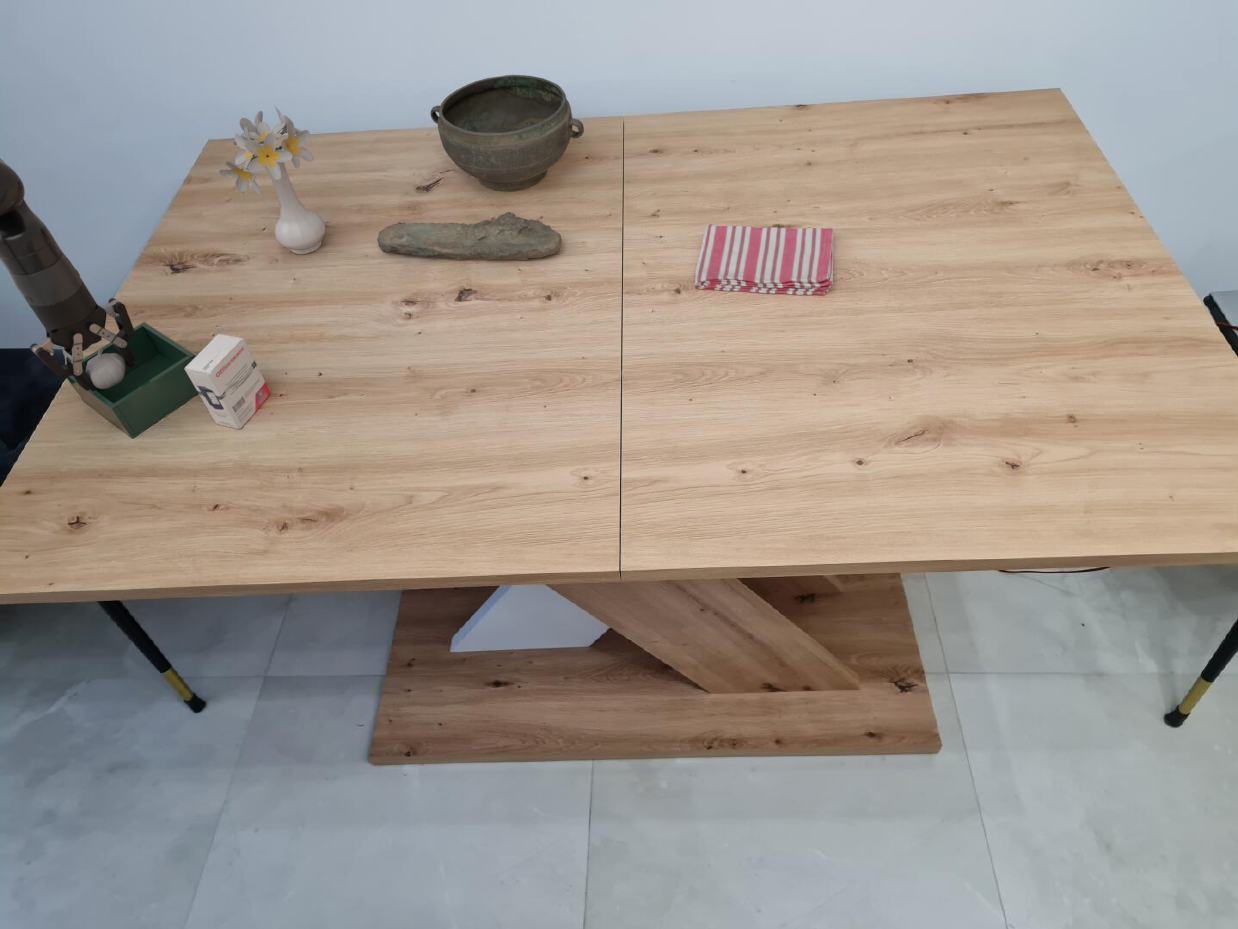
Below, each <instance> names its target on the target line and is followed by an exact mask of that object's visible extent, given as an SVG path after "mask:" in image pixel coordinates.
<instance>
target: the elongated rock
mask: <svg viewBox="0 0 1238 929" xmlns="http://www.w3.org/2000/svg"><path fill="white" fill-rule="evenodd" d="M376 241H377V244H378V247H379V248H380V250H381V251H383V252H384V253H394V254H395V253H397V254H400V255H412V256H421V257H425V258H431V257H437V258H444V259H452V260H459V261H460V260H465V259H477V260H481V259H483V260H486V261H491V260H495V261H499V260H513V261H514V260H515V261H528V260H529V259H535V258H537V259H538V258H539V259H541V258H544V257H549V256H551V255H555V254H557V253H558V251H559V250H560V248H561V246H562V243H563V239H562V235H561V234H560V233H559V232H557V231H556V230H554V229H552V226H550V225H547V224H545V223H542V222H540V221H539V220H535V219H527V218H522V217H520V216H516V214H515V213H514V212H511V211H506V212H505V213H503V214H500V215H499V216H497V218H495V219H491V220H489V219H487V220H486V219H484V220H482V221H480V222H477V223H473V224H472V223H468V224H467V223H464V222H462V223H458V222H448V223H447V222H446V223H445V222H443V223H441V222H436V223H435V222H429V223H427V222H413V223H407V222H401V221H398V223H393V224H391V225H388V226H385V227H384V228H383V229H382V230H380V231H378V235H377V238H376Z"/></svg>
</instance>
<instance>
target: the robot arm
mask: <svg viewBox="0 0 1238 929" xmlns="http://www.w3.org/2000/svg"><path fill="white" fill-rule="evenodd" d="M0 261H1V264H3V266H4V267H5V269H6V270H7V271H8V273H9V275H10V277H11V278H12V281H13V283H14V285H15V287H16V288H17V290H18V291H19V293H20V294H21V296H22V297H23V298H24V300H25V301H26V303H27V304H28V306H29V307H30V308H31V311H32V312H33V313H34V315H35V316H36V317H37V319H38V320H39V322H40V323H41V325H42V326H43V327H44V329H45V337H46V338H44V339H43V340H42V341H41V342H39V343H32V344H30V346H29V350H30V351H31V352H32V353H33V354H34V355H35V356H36V357H37V358H38V359H39V360H40V361H41V362H42V363H43V364H45V366H46V367H47V368H48V369H49V370H50V371H51V372H52V373H54V374H55V375H57V376H58V377H59V378H60V379H62V380H68V379H67V378H68V377H69V376H73V377H74V378H75V380H76V381H77V383H78V384H79V385H80V386H81V387H82V388H83V389H85V390H87V391H88V390H90V391H92V392H94V391H95V390H97V388H96V387H95V385H94V384H93V383H92V381H91V380H90V378H89V377H88V375H87V374H86V372H85V371H83V370H82V360H83V359H84V353H83V352H84V351H86V350H88V349H89V348H90V347H91V346H92V345H95V344H98V343H99V342H101V341H102V340H103V339H105V340H106V341H108V342H109V343H110V342H111V343H113V344H114V345H113V346H114V348H115V350H116V351H117V353H118V354H119V355H121V356H122V357H123V359H124V360H125V364H126V365H127V366H129V367H130V368H131V367H133V366H135V364H134V363H133V362H134V361H135V356H134V355H133V353H132V352H131V350H130V348H129V347H128V345H127V343H128V341H129V339H130V338H134V337H135V335H136V333H135V331H134V328H135V327H134V326H133V323H132V320H131V318H130V315H129V313H128V311H127V308H126V305H125V304H124V303H123V302H121V301H120V300H118V299H116V298H114V297H111V298H109V299H108V303H105V304H104V305H99V304H98V303H97V301H96V299H95V298H94V297H93V295H92V294H91V292H90V291H89V288H88V287H87V286H86V284H85V282H84V280H83V279H82V278H81V274H80V273H79V271H78V269H76V268H75V266H74V265H73V263H72V262H71V260H70V259H69V258H68V257H67V255H66V254H65V253H64V252H63V250H62V249H61V247H60V246H59V244H58V243H57V241H56V239H55V238H54V236H53V235H52V233H51V231H50V230H49V228H48V227H47V225H46V224H45V222H43V220H42V219H41V218H40V217H39V216H38V215H37V214H36V213H34V211H33V210H32V209H31V208H30V206H29V204H28V203H27V202H26V200H25V186H24V183H23V181H22V178H21V177H20V176H19V174H18V173H17V171H15V170H14V169H13V168H12V166H10V165H9V164H7V163H6V162H5V161H4V160H3V159H2V158H0ZM107 314H108V315H109V316H110V317H112V318H113V319H114V321H115V323H116V326H117V328H118V330H119V331H118V332H117V333H114V332H112V331H110V330H109V329H107V328H106V322H107ZM102 338H103V339H102ZM54 345H55V346H59V347H62V354H63V356H64V364H62V365H61V364H60V363H59V362H58V361H57V360H56V359H55V358H54V357H53V356H54V355H55V351H54V349H53V346H54Z"/></svg>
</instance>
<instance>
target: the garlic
mask: <svg viewBox="0 0 1238 929" xmlns="http://www.w3.org/2000/svg"><path fill="white" fill-rule="evenodd" d="M98 350H99V351H98V355H97V356H95V357H93V358H92V359H91V360H89V361H88V363H87V366H86V371H85V372H86V374H87V375H88V377H89V378H90V380H91V381H92V383H93V384H94V385H95V386H96V387H97V388H100V389H108V388H110V387H113V386H114V385H116V384H118V383H119V382H121V380H122V379H123V377H124V374H125V367H126V364H125V360H124V359H123V357H122V356H121V355H119V354H117V353H111V354H107V353H106V354H102V352H103V350H102V349H100V348H99V349H98Z"/></svg>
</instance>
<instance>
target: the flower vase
mask: <svg viewBox="0 0 1238 929" xmlns="http://www.w3.org/2000/svg"><path fill="white" fill-rule="evenodd" d="M274 108H275V110H276V113H277V115H278V118H279V121H280V123H278V124H276V125H274V126H273V127H272V128H270V126H269V124H268V123H267V122H266V121H263V119H264V118H263V116H264V113H263V111H262V110H259V111H258V112H257V113H256V114H255V117H254V120H253V122H252V121H251V120H250V119H249V118H247V117H241V118H240V119H239V127H240V129H241V130H242V131H243V132H242V133H241V134H239V133H235V134H234V135H233V136H234V137H233V138H234V140H233V142H232V143H233V145H234V146H238V148H240V149H241V151H239V152H238V153H237V155H236V156H235V159H234V163H233V162H231V161H229V160H225V161H224V162H225V165H226V166H227V167H228V168H222V169H219V170H218V173H219V174H220V175H221V176H223V177H225V178H230V179H235V178H236V180H235V187H236V189H237V191H238V192H239V193H242V194H243V193H246V192H247V191H248V187H250V188H251V189H252V190H253V191H254V192H255V193H256V194H259V195H262V194H263V191H262V189H261V188H260V186H259V185H258V183H257V182H256V179H257V177H256V175H255V174H258V173H260V172H261V171H263V170H264V169H265V170H266V171H267V174H268V175H269V177H270V179H271V183H272V185H273V187H274V188H273V189H274V191H275V194H276V197H277V199H278V203H279V210H280V211H279V217H278V218H277V221H276V223H275V225H274V237H275V240H276V241H277V243H278V244H279V245H280V246H282V247H284V248H285V249H287V250H289V251H290V252H291V253H292V254H295V255H307V254H311V253H313V252H315V251H317V250H318V249H319V248H320V247H321V246H322V244H323V238H324V236H325V234H326V229H327V228H326V223H325V221H324V219H322V218H323V217H321V216H320V215H319V214H318V213H316V212H315V211H313V210H311V209H308V208H307V207H306V206H305V205H304V204H303V203H302V202H301V200H300V199H299V198H298V196H297V193H296V191H295V189H294V187H293V184H292V181H291V180H290V177H289V174H288V171H287V167H286V163H287V162H289V161H291V162H292V165H293V167H294V168H295V169H296V170H298V169H299V168H300V166H301V160H300V158H301V159H303V160H305V161H307V162H313V161H314V156H313V154H312V152H311V151H310V150H309V149H308V148H306V147H304V145H306V144H307V143H308V142H309V139H310V137H311V133H310V131H309V130H308V129H303V130H302V129H300V128H296V127H295V125H294V122H293V120H291V118H289V117H288V115H286V114H284V115H283V114H282V112H281V111H280V110H279V108H278V107H277V106H276V105H275V104H274ZM285 134H286V138H284V139H282V140H281V142H280V145H279V146H277V145H278V139H280V138H281V137H282V136H284V135H285ZM242 164H244V166H241V165H242Z"/></svg>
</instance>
